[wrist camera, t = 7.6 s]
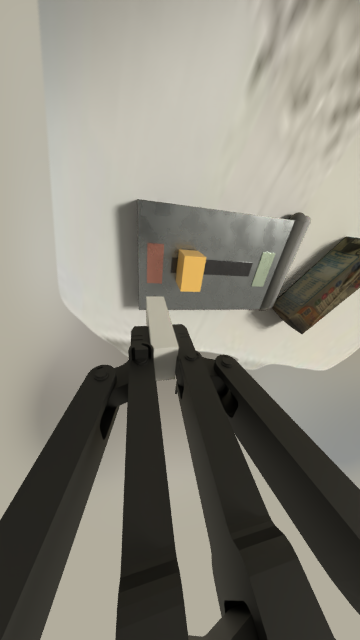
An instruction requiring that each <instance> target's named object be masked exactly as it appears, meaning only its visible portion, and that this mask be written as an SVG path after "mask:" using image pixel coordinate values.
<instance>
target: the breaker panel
mask: <svg viewBox="0 0 360 640" xmlns="http://www.w3.org/2000/svg"><path fill="white" fill-rule="evenodd" d="M137 214H138V276H139V310H146V297H164V299H165V302H166V306H167V309H168V310H227V309H260V306H261V304H262V301H263V299H264V296H265V294H266V291H267V289H268V286H269V284H270V281H271V279H272V276H273V274H274V271H275V269H276V266H277V264H278V261H279V259H280V256H281V254H282V251H283V249H284V246H285V244H286V241H287V239H288V236H289V234H290V231H291V229H292V226H293V224H294V221H295V220H288V219H280V218H273V217H265V216H258V215H251V214H243V213H236V212H228V211H221V210H214V209H206V208H199V207H191V206H184V205H177V204H169V203H162V202H154V201H147V200H140V199H137ZM179 249H182V250H195V251H199V252H200V253H202V254H203V255H204V256H205V257H207V258H206V263H205V268H204V274H203V279H202V285H201V290H200V292H183V291H180V289H179V287H178V285H177V283H176V273H177V263H178V253H179Z"/></svg>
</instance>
